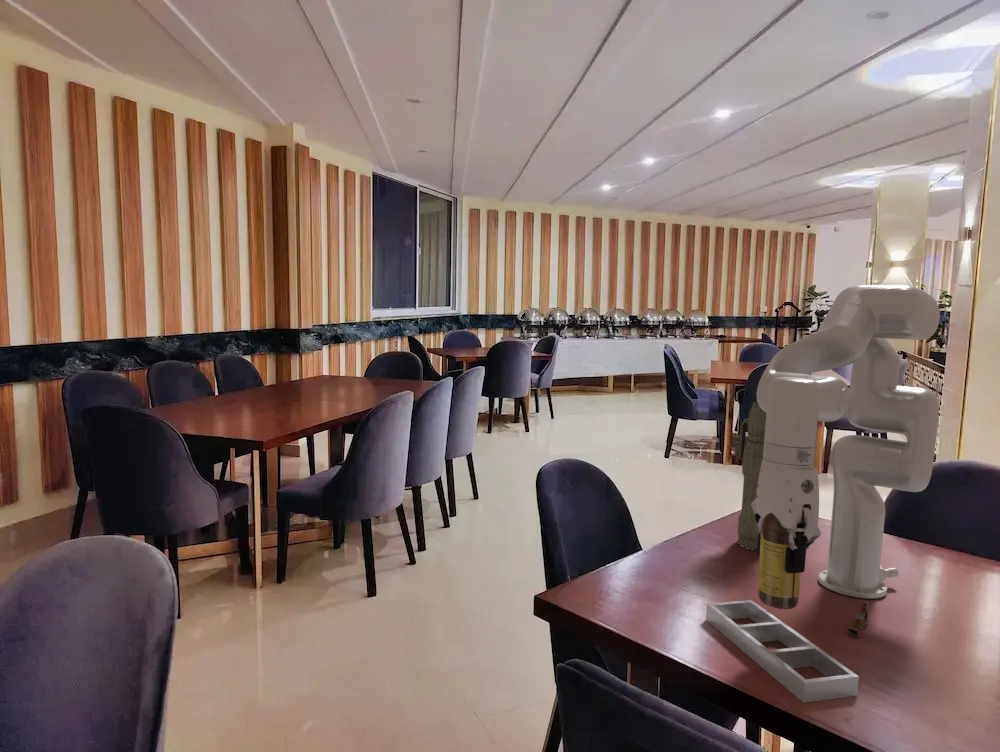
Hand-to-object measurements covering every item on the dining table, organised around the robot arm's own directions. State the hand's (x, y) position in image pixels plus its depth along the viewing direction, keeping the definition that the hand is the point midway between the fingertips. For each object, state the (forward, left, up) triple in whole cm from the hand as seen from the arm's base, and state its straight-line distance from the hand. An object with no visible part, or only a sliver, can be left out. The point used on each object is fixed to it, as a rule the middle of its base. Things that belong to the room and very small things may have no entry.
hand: (780, 562), depth 107 cm
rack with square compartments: (0, 0, -16) cm, 16 cm away
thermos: (-29, -46, -16) cm, 57 cm away
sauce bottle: (0, 0, -7) cm, 7 cm away
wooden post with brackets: (-21, -5, -16) cm, 27 cm away
